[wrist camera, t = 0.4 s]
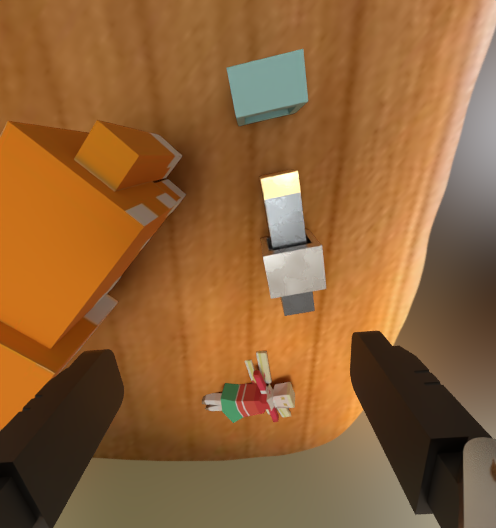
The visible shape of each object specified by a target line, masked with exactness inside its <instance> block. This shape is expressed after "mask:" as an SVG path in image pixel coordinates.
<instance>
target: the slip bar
mask: <svg viewBox="0 0 496 528" xmlns="http://www.w3.org/2000/svg"><path fill="white" fill-rule="evenodd" d="M259 178H260V183H261V189H262V195H263V200H264V206H265V212H266V217H267V223H268V229H269V234H270V240H271V246H272V251H273V250H278V249H284V248H289V247H294V246H299V245H305V244H307V243H306V234H305V226H304V218H303V209H302V201H301V193H300V184H299V176H298V171H296V170H293V169H291V170H286V171H282V172H277V173H272V174H268V175H263V176H259ZM281 302H282V306H283V310H284V315H285V316H287V315H293V314H299V313H305V312H310V311H315V309H314V301H313V293H312V291H311V292H306V293H300V294H294V295H289V296H283V297H281Z"/></svg>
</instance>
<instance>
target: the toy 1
mask: <svg viewBox="0 0 496 528" xmlns="http://www.w3.org/2000/svg"><path fill="white" fill-rule="evenodd" d="M181 157H182V155H181V154H180V153H179V152H178V151H177V150H175V149H174V148H173V147H172V146H171V145H170V144H169V143H168V142H167V141H165V140H164V139H163V138H162V137H161V136H160V135H158V134H153V133H149V132H145V131H141V130H137V129H133V128H128V127H124V126H120V125H116V124H112V123H108V122H104V121H99V120H97V121H96V123H95V125H94V126H93V128H92V130H91V131H90V133H87V132H80V131H73V130H66V129H60V128H53V127H46V126H39V125H32V124H26V123H19V122H12V121H7V123H6V126H5V128H4V130H3V132H2V134H1V136H0V429H1V430H2V429H3V428H4V427H5V426H6V425H7V424H8V423H9V422H10V421H11V419H12V418H13V417H14V416H15V415H16V414H17V413H18V412H20V411H22V410H23V407H24V406H25V405H26V404H27V403H28V402H29V401H30V400H31V399H32V398H35V395H36V394H37V393H38V392H39V391H40V390H41V389H42V387H43V386H44V385H45V384H46V383H47V382H48V381H49V380H51V379H52V378H54V377H55V376H57V375H58V373H59V372H60V371H61V370H62V369H63V368H64V367H65V365H66V364H67V363H68V362H69V361H70V360H71V359H72V357H73V356H74V355H75V354H76V353H77V352H78V350H79V349H80V348H81V347H82V346H83V344H84V343H85V342H86V341H87V340H88V338H89V337H90V336H91V335H92V333H93V332H94V331H95V330H96V329H97V327H98V326H99V325H100V324H101V322H102V321H103V320H104V319H105V318H106V316H107V315H108V314H109V313H110V311H111V310H112V309H113V308H114V307H115V305H116V304H117V303H118V302H119V301H117V300H116V299H114V298H113V297H111V296H110V295H108V294H107V293H108V292H109V291H110V290H111V289H112V288H113V287H114V286H115V284H116V283H117V282H118V281H119V279H120V278H121V277H122V276H121V275H122V274H123V273H124V272H125V270H126V269H127V268H128V266H129V265H130V264H131V263H132V261H133V260H134V259H135V258H136V256H137V255H138V254H139V252H140V251H141V250H142V249H143V247H144V246H145V245H146V244H147V242H148V241H149V240H150V239H151V237H152V236H153V235H154V233H155V232H156V231H157V230H158V228H159V227H160V226H161V225H162V223H163V222H164V221H165V219H166V218H167V217H168V216H169V214H170V213H172V212H173V211H174V210H175V208H176V207H177V206H178V205H179V203H180V202H181V201H182V200H183V198H184V197H185V196H186V194H185V193H184V192H183V191H182V190H180V189H179V188H178V187H177V186H176V185H174V184H173V183H172V182H171V181H170V180H169V179H167V180H163V181H160V182H157V183H154V182H153V181H156V180H160V179H164V178H167V176H168V175H169V174H170V172H171V171H172V169H173V168H174V167H175V165H176V164H177V163H178V161H179V160H180V159H181Z"/></svg>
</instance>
